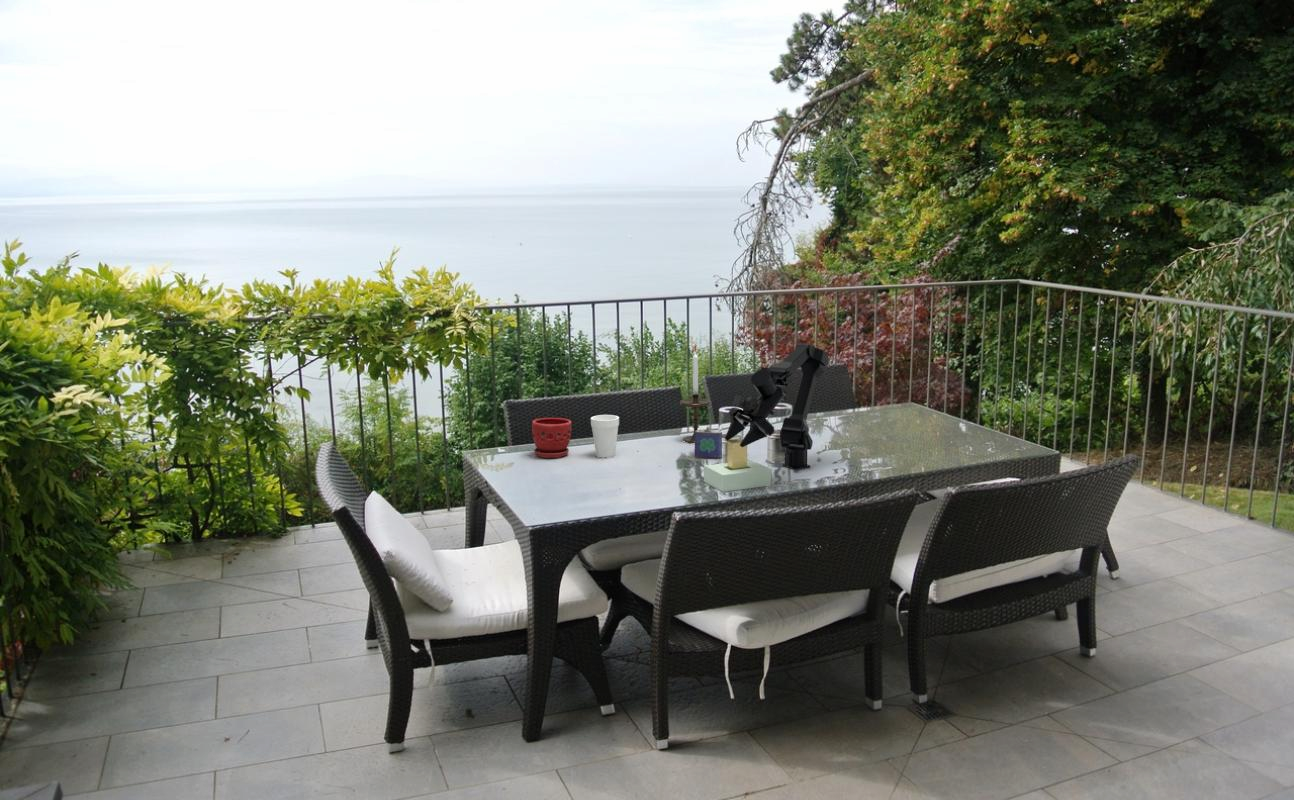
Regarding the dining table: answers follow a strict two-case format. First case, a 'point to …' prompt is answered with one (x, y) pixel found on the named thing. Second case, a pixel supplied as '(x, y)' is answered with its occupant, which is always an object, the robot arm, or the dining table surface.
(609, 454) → the foam cup
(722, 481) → the coin box
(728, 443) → the tan rectangular block
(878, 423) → the dining table surface
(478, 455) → the dining table surface
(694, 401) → the candlestick
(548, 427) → the plant pot
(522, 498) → the dining table surface
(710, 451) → the flask
